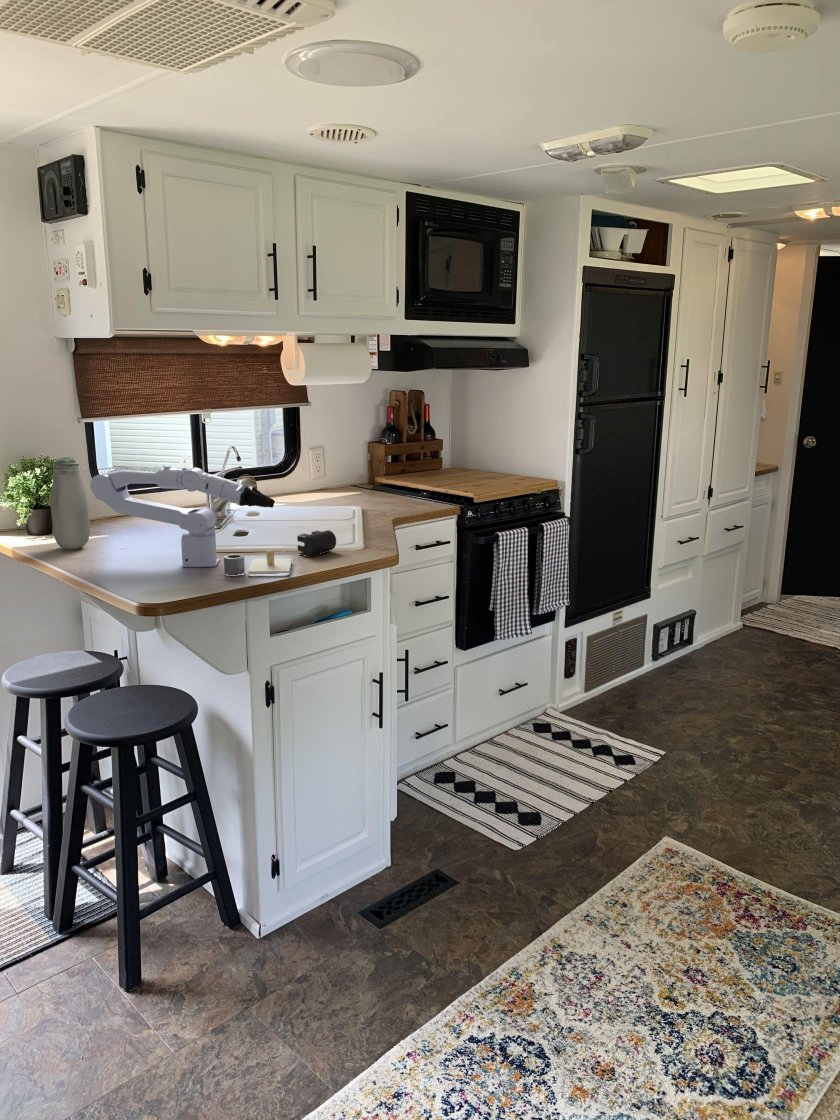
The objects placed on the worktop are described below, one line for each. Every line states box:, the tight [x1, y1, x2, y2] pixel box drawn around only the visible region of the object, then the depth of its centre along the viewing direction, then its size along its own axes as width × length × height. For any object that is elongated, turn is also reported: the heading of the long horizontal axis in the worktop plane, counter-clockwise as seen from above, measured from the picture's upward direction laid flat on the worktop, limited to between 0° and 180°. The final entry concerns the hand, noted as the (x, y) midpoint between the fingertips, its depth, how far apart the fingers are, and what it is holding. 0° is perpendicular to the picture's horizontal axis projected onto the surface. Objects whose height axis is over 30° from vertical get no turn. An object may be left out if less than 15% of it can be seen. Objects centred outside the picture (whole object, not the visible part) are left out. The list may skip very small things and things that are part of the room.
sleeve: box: [223, 553, 246, 575], centre depth 232 cm, size 5×5×5 cm
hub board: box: [247, 549, 293, 575], centre depth 237 cm, size 11×14×6 cm
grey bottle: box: [49, 456, 91, 551], centre depth 256 cm, size 10×10×28 cm
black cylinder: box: [297, 529, 337, 557], centre depth 255 cm, size 10×7×7 cm
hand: (271, 503), depth 237 cm, fingers open, 7 cm apart
